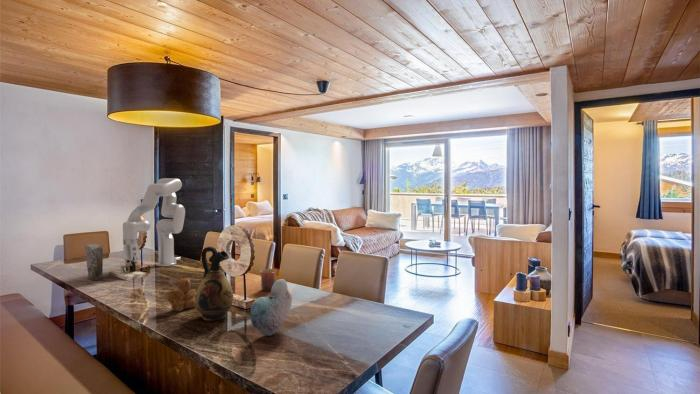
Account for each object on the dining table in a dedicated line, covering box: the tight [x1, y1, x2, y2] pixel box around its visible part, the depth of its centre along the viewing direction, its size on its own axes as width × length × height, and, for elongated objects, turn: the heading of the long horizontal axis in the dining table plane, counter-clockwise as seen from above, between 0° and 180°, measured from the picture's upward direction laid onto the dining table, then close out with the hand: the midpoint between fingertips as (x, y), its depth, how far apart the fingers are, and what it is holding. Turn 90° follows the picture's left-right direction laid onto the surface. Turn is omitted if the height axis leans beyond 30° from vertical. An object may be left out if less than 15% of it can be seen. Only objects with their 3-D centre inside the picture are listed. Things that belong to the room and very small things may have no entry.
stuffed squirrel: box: [165, 277, 196, 312], centre depth 164 cm, size 10×14×13 cm
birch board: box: [108, 268, 147, 281], centre depth 221 cm, size 11×22×2 cm, turn 57°
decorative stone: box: [250, 278, 293, 337], centre depth 136 cm, size 21×9×20 cm, turn 151°
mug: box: [259, 268, 277, 292], centre depth 194 cm, size 12×9×10 cm
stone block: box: [84, 243, 104, 282], centre depth 214 cm, size 13×7×20 cm, turn 54°
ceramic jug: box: [194, 245, 234, 322], centre depth 154 cm, size 17×15×30 cm
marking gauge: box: [120, 260, 141, 272], centre depth 222 cm, size 9×4×6 cm, turn 146°
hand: (130, 270), depth 222 cm, fingers closed on marking gauge, 4 cm apart
